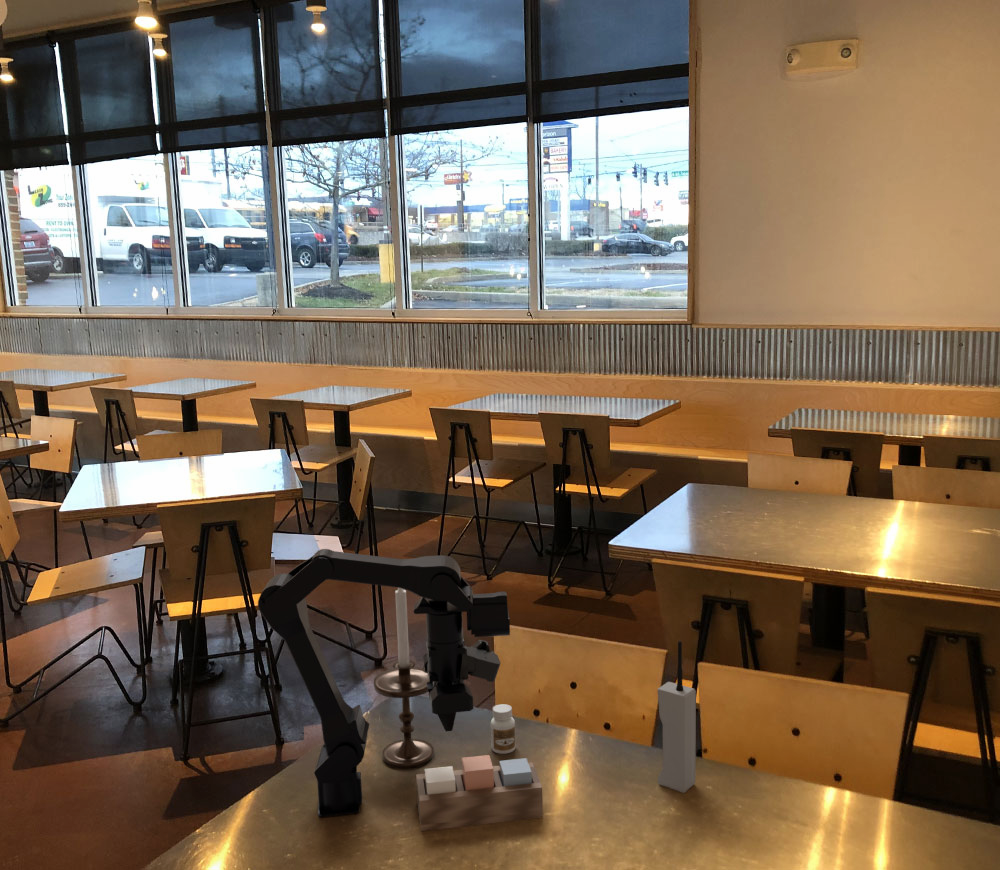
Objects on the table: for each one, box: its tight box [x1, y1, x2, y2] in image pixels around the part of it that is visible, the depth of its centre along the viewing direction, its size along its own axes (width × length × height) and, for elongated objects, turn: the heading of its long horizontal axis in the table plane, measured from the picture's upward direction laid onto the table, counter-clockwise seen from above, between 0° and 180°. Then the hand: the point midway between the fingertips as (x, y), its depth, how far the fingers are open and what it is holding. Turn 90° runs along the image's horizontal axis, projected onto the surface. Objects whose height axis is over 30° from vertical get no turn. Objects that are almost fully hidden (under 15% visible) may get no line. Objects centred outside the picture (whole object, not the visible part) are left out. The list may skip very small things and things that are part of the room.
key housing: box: [415, 761, 544, 832], centre depth 148 cm, size 19×8×5 cm, turn 99°
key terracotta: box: [461, 754, 494, 791], centre depth 148 cm, size 4×4×4 cm
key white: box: [424, 765, 456, 795], centre depth 147 cm, size 4×4×4 cm
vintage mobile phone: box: [657, 640, 697, 794], centre depth 153 cm, size 4×5×25 cm
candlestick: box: [373, 587, 435, 770], centre depth 164 cm, size 11×11×35 cm
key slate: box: [499, 757, 532, 787], centre depth 149 cm, size 4×4×4 cm
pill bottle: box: [490, 703, 517, 755], centre depth 168 cm, size 4×4×8 cm
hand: (448, 730), depth 150 cm, fingers closed
